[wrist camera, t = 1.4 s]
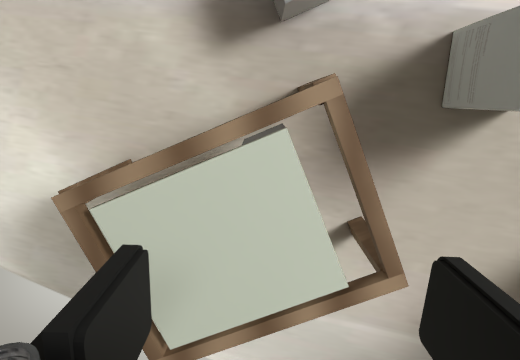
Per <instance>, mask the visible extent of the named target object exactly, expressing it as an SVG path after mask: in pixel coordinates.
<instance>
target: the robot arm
mask: <svg viewBox="0 0 520 360" xmlns="http://www.w3.org/2000/svg"><path fill="white" fill-rule="evenodd" d="M151 325H152V315H151V294H150V274H149V254H148V250H143V247H142V246H141V245H126V244H123V245H122V246H121V247H120V248H119V249H118V250H117V251H116V252H115V253H114V254H113V255H112V256H111V257H110V258H109V259H108V261H107V262H106V263H105V264H104V265H103V266H102V267H101V268H100V269H99V270H98V271H97V272H96V273H95V275H94V276H93V277H92V278H91V279H90V280H89V281H88V282H87V283H86V284H85V285H84V286H83V287H82V288H81V290H80V291H79V292H78V293H77V294H76V295H75V296H74V297H73V298H72V299H71V300H70V301H69V303H68V304H67V305H66V306H65V307H64V308H63V309H62V310H61V311H60V312H59V313H58V314H57V315H56V317H55V318H54V319H53V320H52V321H51V322H50V323H49V324H48V325H47V326H46V327H45V328H44V330H43V331H42V332H41V333H40V334H39V335H38V336H37V337H36V338H35V339H34V340H33V341H32V342H31V344H29V343H20V342H17V343H9V344H5V345H1V346H0V360H137V359H138V357H139V355H140V353H141V350H142V348H143V346H144V344H145V342H146V340H147V337H148V335H149V333H150V330H151ZM419 336H420V340H421V342H422V344H423V345H424V347H425V348H426V350H427V351H428V353H429V354H430V356H431V357H432V359H433V360H520V304H519V303H518V302H516V301H515V300H514V299H513V298H511V297H510V296H509V295H507V294H506V293H505V292H504V291H502V290H501V289H500V288H499V287H497V286H496V285H495V284H494V283H492V282H491V281H490V280H488V279H487V278H486V277H485V276H483V275H482V274H481V273H480V272H478V271H477V270H476V269H475V268H473V267H472V266H471V265H470V264H468V263H467V262H466V261H464V260H463V259H462V258H460V257H440V258H439V259H438V260H437V261H434V262H433V264H432V268H431V273H430V278H429V283H428V288H427V293H426V298H425V303H424V308H423V313H422V318H421V323H420V328H419Z"/></svg>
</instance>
